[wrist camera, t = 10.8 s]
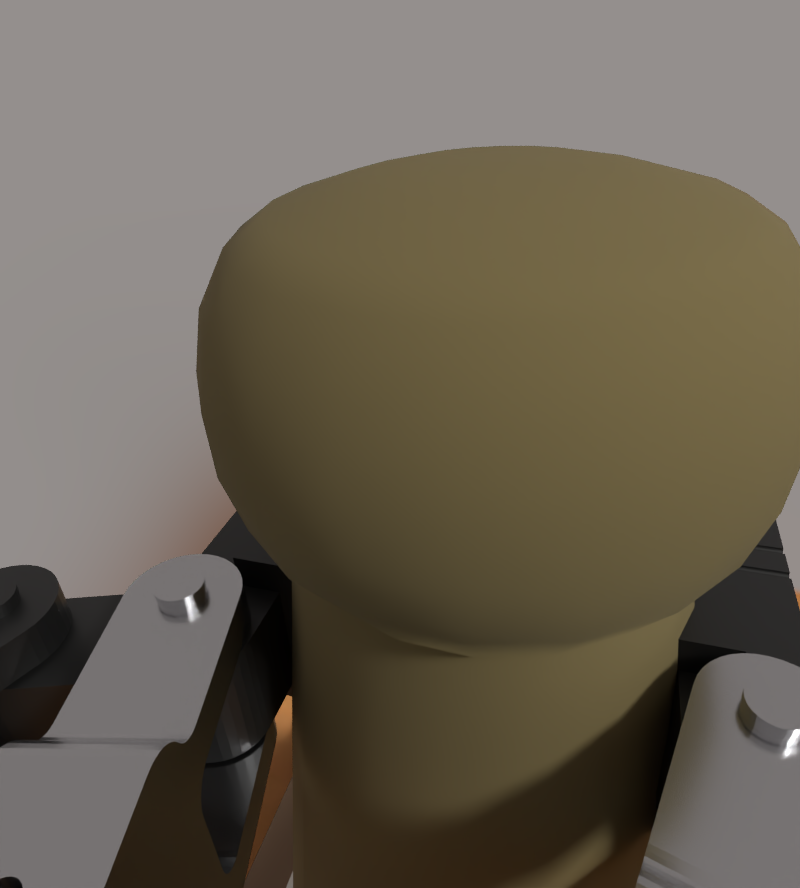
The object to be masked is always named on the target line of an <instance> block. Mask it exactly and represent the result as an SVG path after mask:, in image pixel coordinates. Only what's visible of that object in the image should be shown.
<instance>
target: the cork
mask: <svg viewBox="0 0 800 888" xmlns="http://www.w3.org/2000/svg"><path fill="white" fill-rule="evenodd" d="M197 344H198V345H197V370H196V372H197V380H198V389H199V397H200V405H201V413H202V418H203V422H204V426H205V430H206V434H207V438H208V441H209V446H210V450H211V453H212V457H213V461H214V465H215V469H216V473H217V477H218V479H219V481H220V483H221V484H222V486H223V488H224V490H225V491H226V493H227V495H228V496H229V498H230V500H231V502H232V503H233V505H234V506H235V508H236V510H237V512H238V514H239V515H240V517H241V519H242V520H243V522H244V524H245V526H246V527H247V529H248V531H249V532H250V533H251V534H252V535H253V537H254V538H255V539H256V540H257V541H258V542H259V544H260V545H261V546H262V547H263V548H264V550H265V551H266V552H267V553H268V554H269V556H270V557H271V558H272V559H273V560H274V562H275V563H276V564H277V565H278V566H279V568H280V569H281V570H282V571H283V572H284V574H285V575H286V576H287V577H288V578H289V579H290V580H291V581H292V739H293V888H635V887H636V883H637V880H638V877H639V873H640V870H641V867H642V863H643V860H644V856H645V853H646V849H647V846H648V842H649V839H650V835H651V832H652V828H653V825H654V821H655V818H656V792H657V787H658V782H659V777H660V772H661V766H662V761H663V756H664V751H665V746H666V741H667V735H668V729H669V722H670V716H671V710H672V704H673V697H674V691H675V685H676V678H677V666H678V639H679V637H680V635H681V633H682V631H683V629H684V627H685V625H686V623H687V621H688V619H689V617H690V615H691V613H692V611H693V609H694V605H695V600H696V599H698V598H699V597H700V596H702V595H703V594H704V593H706V592H707V591H708V590H710V589H711V588H713V587H714V586H715V585H717V584H718V583H719V582H721V581H722V580H723V579H725V578H726V577H727V576H729V575H730V574H732V573H733V572H734V571H736V570H737V569H738V568H740V567H741V566H742V564H743V563H744V562H745V560H746V559H747V558H748V556H749V555H750V553H751V552H752V551H753V549H754V548H755V547H756V545H757V544H758V543H759V541H760V540H761V539H762V537H763V536H764V535H765V533H766V532H767V531H768V529H769V528H770V527H771V525H772V524H773V523H774V521H775V520H776V518H777V517H778V516H779V514H780V513H781V512H782V509H783V507H784V504H785V502H786V500H787V497H788V495H789V493H790V490H791V488H792V485H793V483H794V480H795V478H796V476H797V474H798V471H799V469H800V246H799V244H798V242H797V240H796V239H795V237H794V235H793V233H792V232H791V230H790V228H789V226H788V224H787V223H786V222H785V221H784V220H782V219H781V218H780V217H778V216H777V215H775V214H774V213H773V212H772V211H770V210H769V209H767V208H766V207H765V206H763V205H762V204H761V203H759V202H758V201H756V200H755V199H754V198H752V197H751V196H750V195H748V194H747V193H745V192H743V191H741V190H739V189H737V188H735V187H732V186H731V185H728V184H726V183H724V182H722V181H720V180H718V179H716V178H712V177H708V176H704V175H700V174H696V173H692V172H688V171H684V170H680V169H676V168H672V167H667V166H663V165H659V164H655V163H651V162H648V161H644V160H639V159H635V158H631V157H627V156H623V155H616V154H607V153H599V152H592V151H583V150H574V149H566V148H558V147H540V146H493V147H473V148H463V149H453V150H444V151H438V152H432V153H426V154H420V155H415V156H409V157H404V158H398V159H393V160H387V161H384V162H380V163H376V164H372V165H369V166H365V167H362V168H358V169H355V170H351V171H348V172H345V173H342V174H339V175H336V176H332V177H329V178H326V179H323V180H320V181H317V182H313V183H310V184H307V185H304V186H302V187H300V188H297V189H295V190H293V191H291V192H289V193H287V194H285V195H282V196H281V197H278V198H276V199H274V200H272V201H271V202H270V203H269V204H268V205H266V206H265V207H264V208H263V209H261V210H260V211H259V212H258V213H257V214H255V215H254V216H253V217H252V218H251V219H249V220H248V221H247V222H246V223H244V224H243V225H242V226H241V227H240V228H239V229H238V230H237V232H236V233H235V234H234V235H233V236H232V238H231V239H230V240H229V241H228V242H227V243H226V245H225V246H224V247H223V249H222V251H221V254H220V256H219V259H218V261H217V264H216V266H215V269H214V272H213V274H212V277H211V279H210V282H209V285H208V287H207V289H206V292H205V295H204V297H203V300H202V302H201V305H200V307H199V318H198V343H197Z"/></svg>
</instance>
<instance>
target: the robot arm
mask: <svg viewBox="0 0 800 888" xmlns="http://www.w3.org/2000/svg"><path fill="white" fill-rule="evenodd" d="M286 695H289V696H292V581H291V580H290V579H289V578H288V577H287V576H286V575H285V574H284V572H283V571H282V570H281V569H280V568H279V566H278V565H277V564H276V563H275V562H274V560H273V559H272V558H271V557H270V556H269V554H268V553H267V552H266V551H265V550H264V548H263V547H262V546H261V545H260V544H259V542H258V541H257V540H256V539H255V538H254V537H253V535H252V534H251V533H250V532H249V531H248V529H247V527H246V526H245V524H244V522H243V520H242V519H241V517H240V515H239V514H238V512H237V511H236V512H235V514H234V515H233V516H232V517H231V518H230V520H229V521H228V522H227V523H226V525H225V526H224V527H223V528H222V530H221V531H220V532H219V533H218V535H217V536H216V537H215V538H214V539H213V541H212V542H211V543H210V544H209V545H208V547H207V548H206V549H205V550H204V552H203V553H202V554H193V555H185V556H180V557H176V558H173V559H170V560H167V561H165V562H162V563H160V564H158V565H156V566H154V567H152V568H150V569H149V570H147V571H146V572H145V573H143V574H142V575H140V576H139V577H138V578H137V579H136V580H135V581H134V582H133V583H132V584H131V585H130V586H129V587H128V589H127V591H126V592H125V593H124V594H123V595H110V596H97V597H83V598H70V599H65V597H64V594H63V592H62V590H61V587H60V585H59V583H58V581H57V578H56V577H55V575H54V574H53V573H52V572H51V571H49V570H47V569H45V568H42V567H39V566H32V565H19V566H11V567H6V568H1V569H0V888H244V882H245V877H246V873H247V868H248V864H249V859H250V855H251V850H252V846H253V841H254V837H255V832H256V828H257V823H258V819H259V814H260V810H261V805H262V801H263V796H264V792H265V787H266V783H267V778H268V774H269V769H270V765H271V761H272V756H273V752H274V747H275V743H276V736H277V730H276V723H275V719H274V718H275V716H276V714H277V712H278V710H279V708H280V707H281V705H282V703H283V701H284V699H285V697H286ZM635 888H800V610H799V606H798V602H797V598H796V595H795V591H794V587H793V583H792V580H791V579H789V568H788V565H787V561H786V557H785V554H783V546H782V542H781V538H780V534H779V530H778V526H777V523H776V520H775V521H774V523H773V524H772V525H771V527H770V528H769V529H768V531H767V532H766V533H765V535H764V536H763V537H762V539H761V540H760V541H759V543H758V544H757V545H756V547H755V548H754V549H753V551H752V552H751V553H750V555H749V556H748V558H747V559H746V560H745V562H744V563H743V564H742V566H741V567H740V568H738V569H737V570H736V571H734V572H733V573H732V574H730V575H729V576H727V577H726V578H725V579H723V580H722V581H721V582H719V583H718V584H717V585H715V586H714V587H713V588H711V589H710V590H708V591H707V592H706V593H704V594H703V595H702V596H700V597H699V598H698V599H696V600H695V605H694V609H693V611H692V613H691V615H690V617H689V619H688V621H687V623H686V625H685V627H684V629H683V631H682V633H681V635H680V637H679V639H678V666H677V678H676V685H675V691H674V697H673V704H672V710H671V716H670V722H669V729H668V735H667V741H666V746H665V751H664V756H663V761H662V766H661V772H660V777H659V782H658V787H657V792H656V818H655V821H654V825H653V828H652V832H651V835H650V839H649V842H648V846H647V849H646V853H645V856H644V860H643V863H642V867H641V870H640V873H639V877H638V880H637V883H636V887H635Z"/></svg>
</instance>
